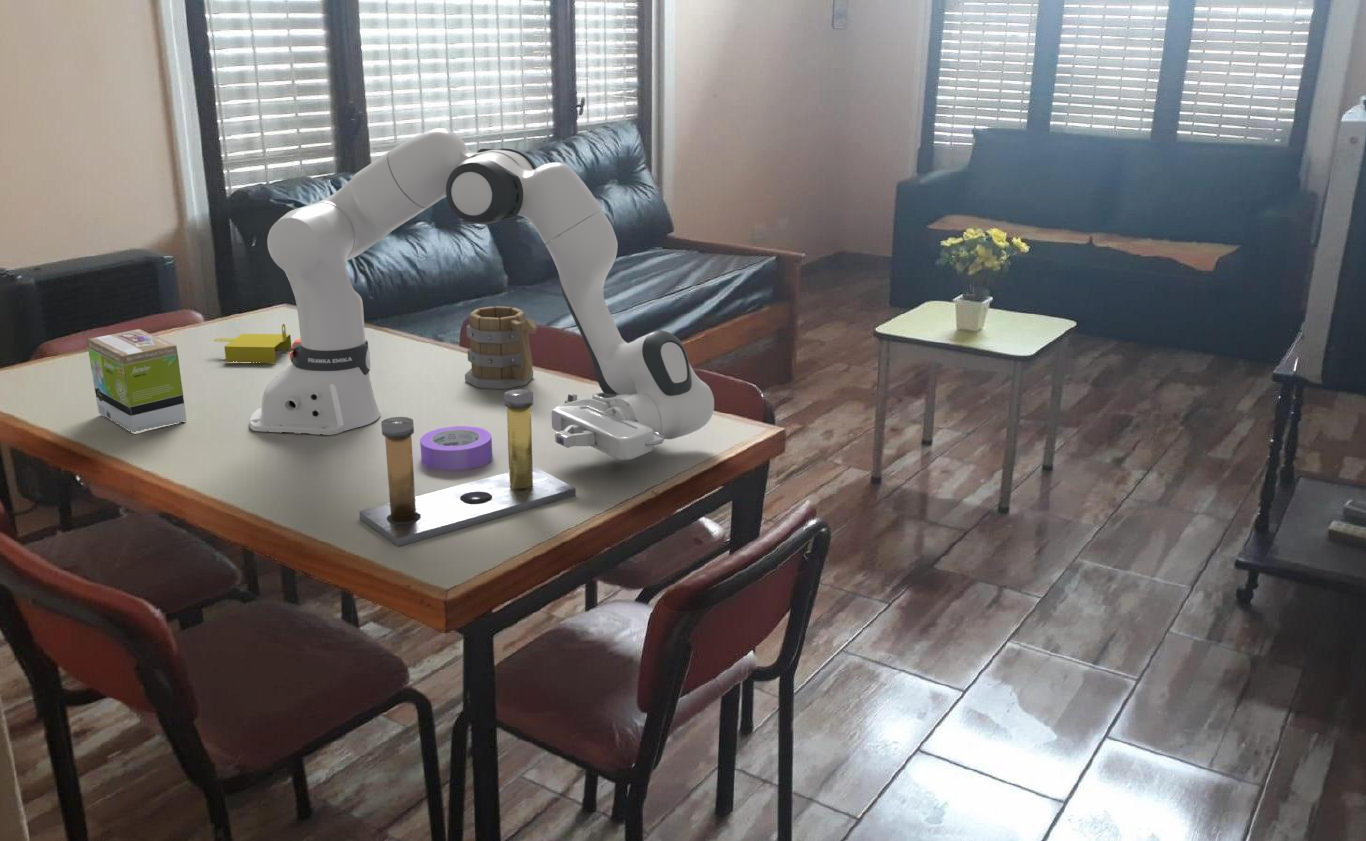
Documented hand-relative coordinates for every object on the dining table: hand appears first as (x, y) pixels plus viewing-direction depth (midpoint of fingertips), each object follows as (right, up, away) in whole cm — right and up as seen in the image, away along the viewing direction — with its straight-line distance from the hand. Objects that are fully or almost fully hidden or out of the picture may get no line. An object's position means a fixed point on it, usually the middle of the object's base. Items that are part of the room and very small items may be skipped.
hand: (560, 440), depth 188 cm
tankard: (-16, +10, +51) cm, 54 cm away
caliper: (+5, +4, +34) cm, 35 cm away
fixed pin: (-21, -11, -14) cm, 28 cm away
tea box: (-78, +3, +28) cm, 83 cm away
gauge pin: (-6, -7, -2) cm, 9 cm away
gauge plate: (-13, -10, -7) cm, 18 cm away
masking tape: (-18, -4, +12) cm, 22 cm away
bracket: (-72, +16, +67) cm, 100 cm away
